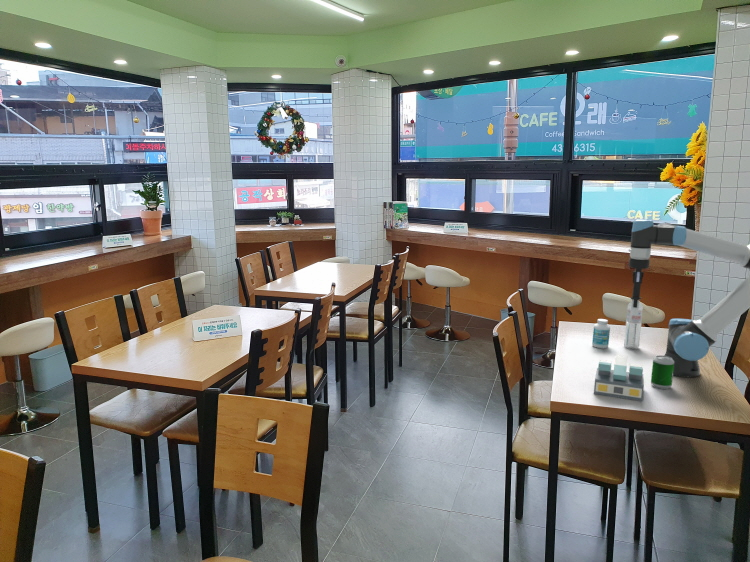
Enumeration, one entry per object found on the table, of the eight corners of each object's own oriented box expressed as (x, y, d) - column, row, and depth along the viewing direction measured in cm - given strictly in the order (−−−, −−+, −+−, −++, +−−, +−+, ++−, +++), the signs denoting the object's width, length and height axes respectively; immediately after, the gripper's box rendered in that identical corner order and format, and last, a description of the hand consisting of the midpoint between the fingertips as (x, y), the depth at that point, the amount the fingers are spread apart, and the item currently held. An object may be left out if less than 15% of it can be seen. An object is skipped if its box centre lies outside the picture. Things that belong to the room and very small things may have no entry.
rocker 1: (611, 367, 227) (611, 361, 227) (610, 371, 216) (611, 365, 216) (599, 366, 229) (599, 360, 229) (598, 369, 218) (598, 363, 218)
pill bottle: (591, 347, 278) (593, 320, 276) (592, 343, 285) (594, 317, 282) (608, 349, 275) (610, 322, 273) (608, 345, 282) (610, 319, 279)
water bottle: (640, 346, 280) (644, 297, 275) (637, 350, 274) (642, 299, 270) (625, 344, 284) (629, 295, 279) (622, 348, 278) (627, 298, 273)
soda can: (670, 391, 223) (673, 361, 221) (649, 387, 227) (652, 358, 224) (672, 385, 229) (675, 356, 227) (651, 381, 233) (654, 353, 231)
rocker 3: (641, 371, 223) (642, 365, 223) (642, 375, 212) (642, 369, 212) (629, 370, 225) (629, 364, 225) (629, 374, 214) (630, 367, 214)
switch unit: (641, 388, 225) (643, 369, 224) (642, 401, 212) (644, 381, 211) (595, 382, 232) (597, 363, 231) (593, 394, 219) (595, 374, 218)
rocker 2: (626, 361, 225) (627, 356, 224) (625, 380, 216) (626, 376, 214) (614, 359, 227) (615, 355, 226) (613, 379, 217) (613, 374, 216)
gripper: (629, 255, 238) (624, 310, 242) (629, 259, 226) (624, 317, 231) (649, 256, 235) (643, 312, 239) (650, 260, 223) (644, 319, 228)
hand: (634, 314), depth 235 cm, fingers closed
